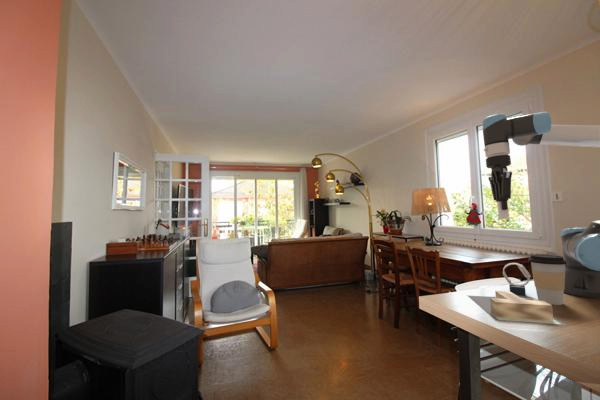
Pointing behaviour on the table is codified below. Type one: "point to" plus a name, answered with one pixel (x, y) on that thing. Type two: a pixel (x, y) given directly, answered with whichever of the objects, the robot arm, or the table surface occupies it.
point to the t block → (519, 307)
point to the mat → (486, 306)
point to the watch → (517, 288)
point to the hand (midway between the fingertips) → (503, 218)
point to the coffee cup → (549, 277)
